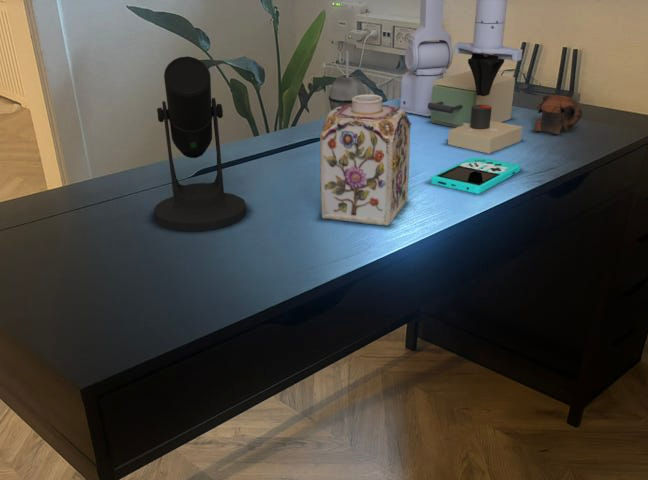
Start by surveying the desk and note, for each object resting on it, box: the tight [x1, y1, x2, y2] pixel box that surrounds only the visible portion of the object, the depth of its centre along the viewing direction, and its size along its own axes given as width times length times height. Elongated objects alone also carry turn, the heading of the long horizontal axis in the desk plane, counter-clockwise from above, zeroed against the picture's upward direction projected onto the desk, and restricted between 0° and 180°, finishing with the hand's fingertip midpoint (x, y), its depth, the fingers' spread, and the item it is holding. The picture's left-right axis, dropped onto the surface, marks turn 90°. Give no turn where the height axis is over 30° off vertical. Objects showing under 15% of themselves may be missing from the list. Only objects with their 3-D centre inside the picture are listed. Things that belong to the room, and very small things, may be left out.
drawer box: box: [430, 70, 516, 128], centre depth 167 cm, size 14×12×9 cm
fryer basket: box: [428, 85, 477, 126], centre depth 164 cm, size 18×11×7 cm, turn 136°
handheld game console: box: [430, 157, 521, 195], centre depth 134 cm, size 10×16×1 cm, turn 141°
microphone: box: [153, 56, 247, 232], centre depth 114 cm, size 15×17×25 cm
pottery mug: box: [533, 94, 583, 135], centre depth 160 cm, size 12×10×8 cm
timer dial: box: [470, 105, 492, 129], centre depth 152 cm, size 4×4×4 cm
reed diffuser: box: [328, 50, 367, 111], centre depth 141 cm, size 7×7×20 cm
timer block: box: [447, 121, 523, 155], centre depth 153 cm, size 11×12×3 cm
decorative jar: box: [319, 93, 412, 227], centre depth 116 cm, size 12×12×18 cm
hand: (482, 95), depth 150 cm, fingers closed
